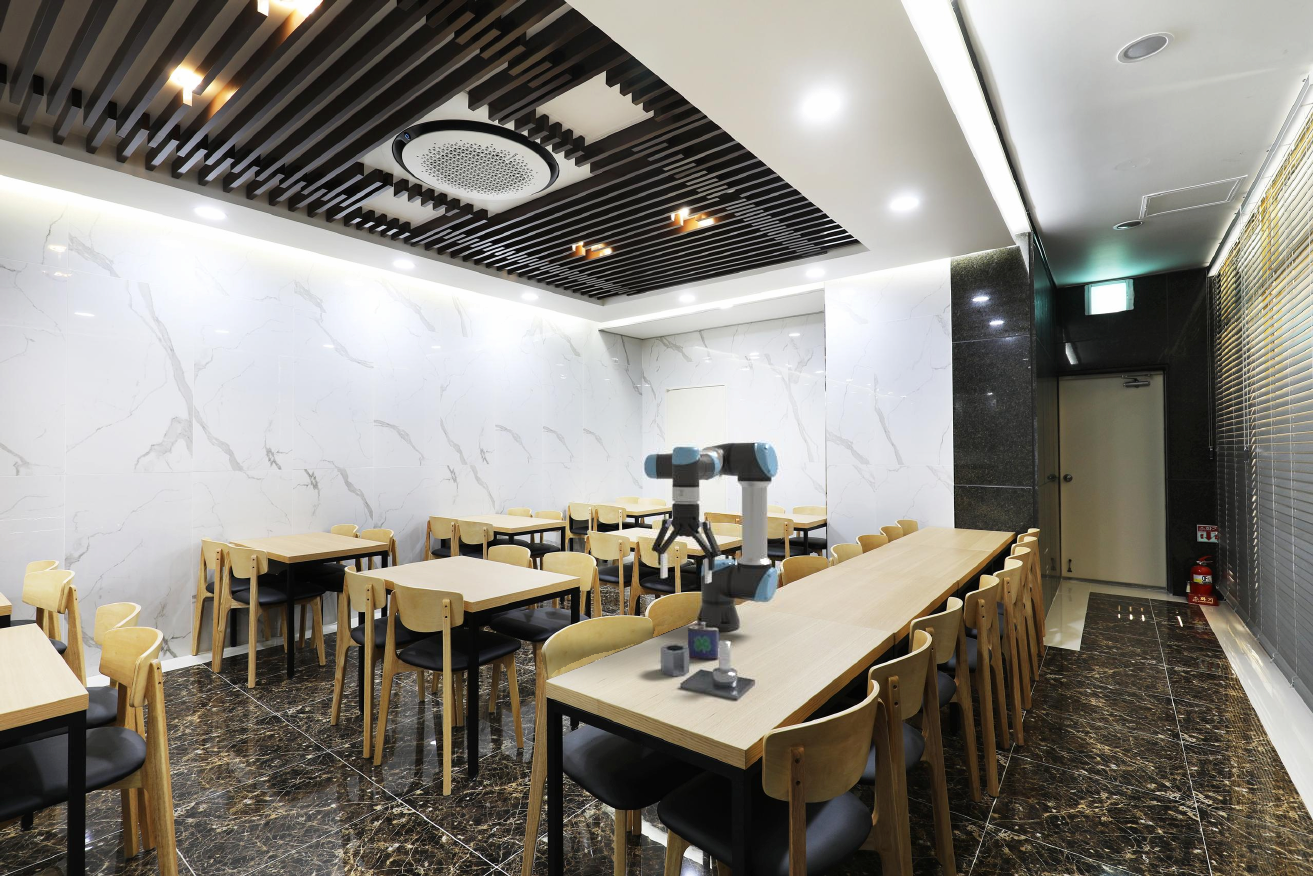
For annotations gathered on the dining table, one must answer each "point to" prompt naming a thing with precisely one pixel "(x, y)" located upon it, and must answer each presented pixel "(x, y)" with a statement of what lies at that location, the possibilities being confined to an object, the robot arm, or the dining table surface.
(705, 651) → the flask
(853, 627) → the dining table surface
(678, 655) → the tube
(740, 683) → the shaft fixture
